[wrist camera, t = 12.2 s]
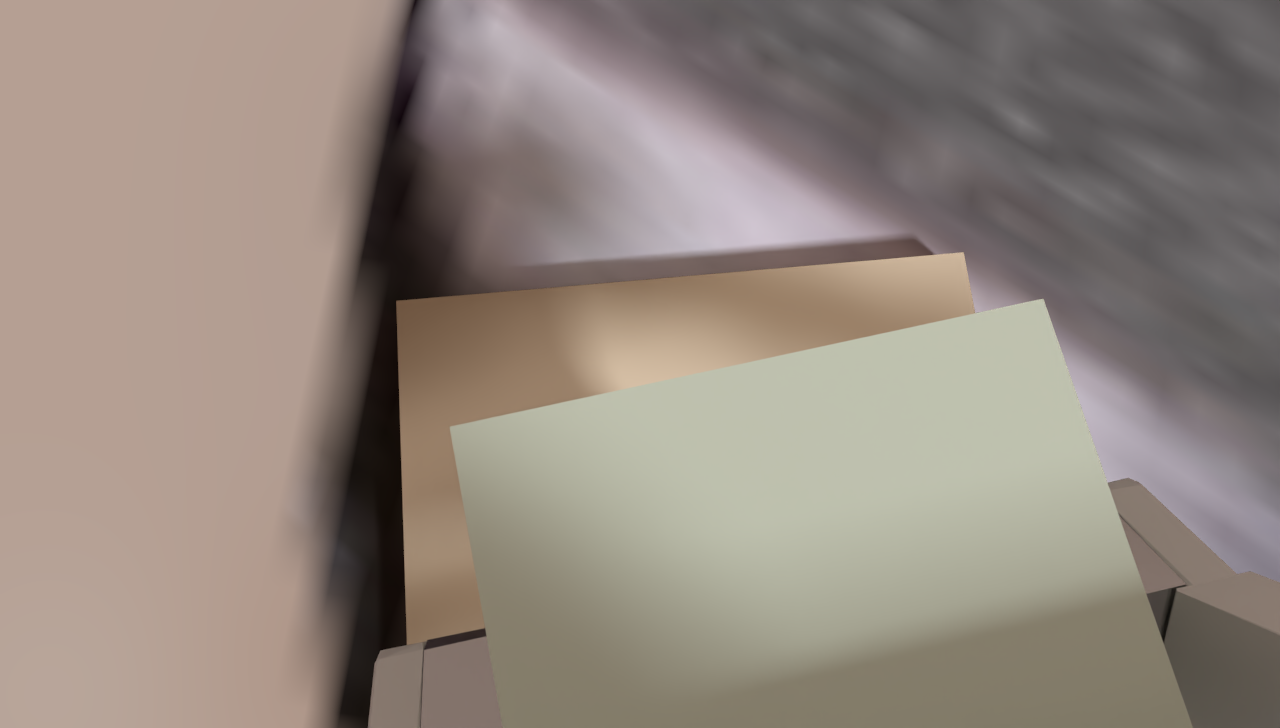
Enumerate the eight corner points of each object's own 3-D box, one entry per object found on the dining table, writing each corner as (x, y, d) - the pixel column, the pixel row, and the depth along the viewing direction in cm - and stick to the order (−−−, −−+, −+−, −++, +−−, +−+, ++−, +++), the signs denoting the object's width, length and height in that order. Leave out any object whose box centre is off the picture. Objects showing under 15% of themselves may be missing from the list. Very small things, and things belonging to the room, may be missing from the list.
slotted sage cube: (946, 775, 14) (1273, 959, 7) (600, 863, 13) (577, 1151, 7) (849, 435, 15) (1043, 298, 8) (531, 505, 15) (449, 426, 8)
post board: (1078, 961, 20) (1267, 1117, 14) (430, 1033, 19) (343, 1227, 13) (949, 266, 23) (1055, 160, 18) (406, 312, 23) (330, 219, 17)
